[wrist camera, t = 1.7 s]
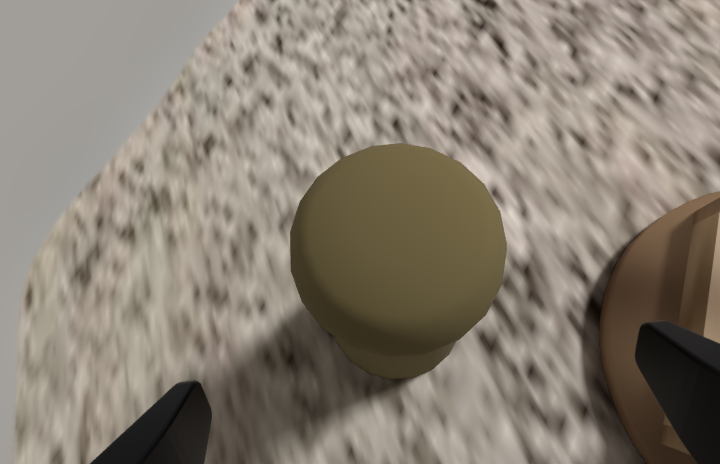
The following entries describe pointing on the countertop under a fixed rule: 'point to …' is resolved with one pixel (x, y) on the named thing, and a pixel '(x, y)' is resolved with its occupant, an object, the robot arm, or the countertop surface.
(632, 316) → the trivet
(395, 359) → the pepper shaker
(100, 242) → the countertop surface
